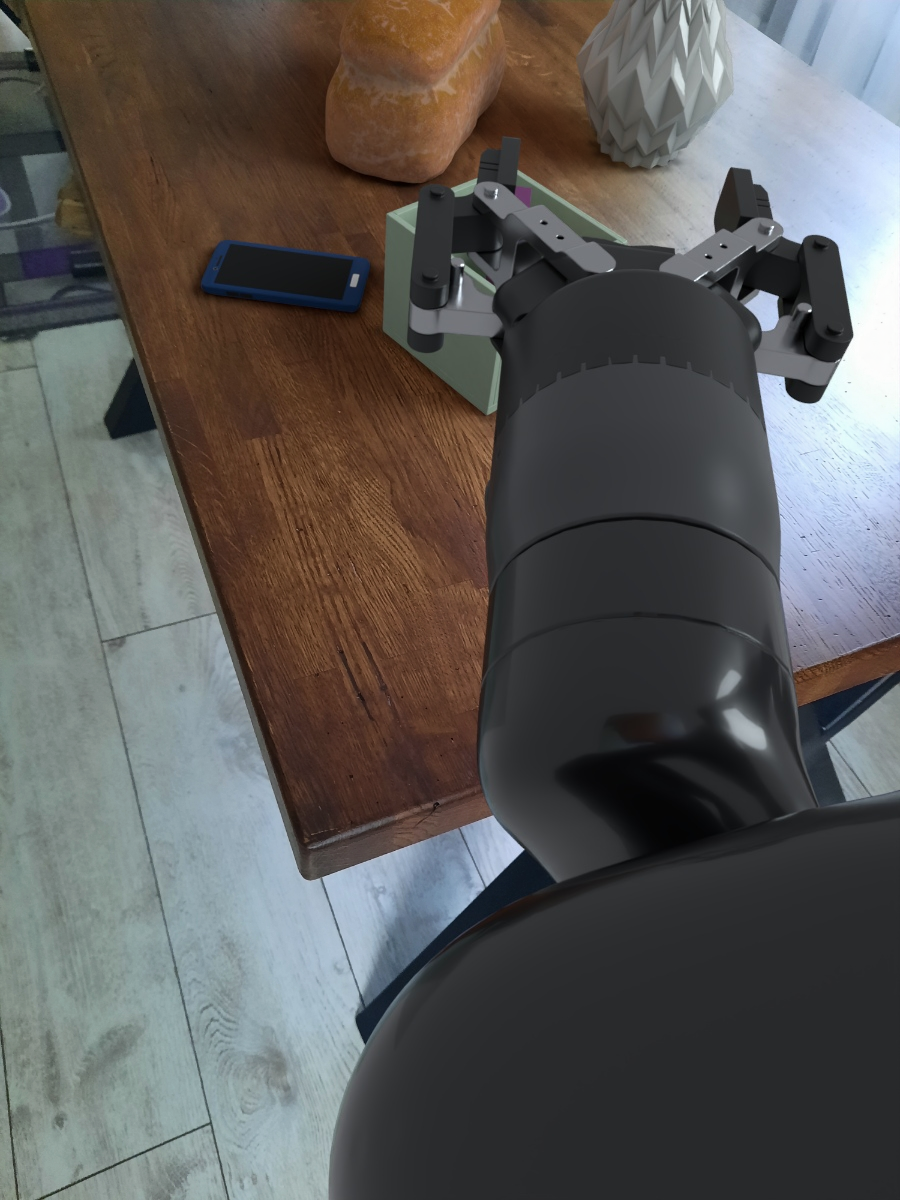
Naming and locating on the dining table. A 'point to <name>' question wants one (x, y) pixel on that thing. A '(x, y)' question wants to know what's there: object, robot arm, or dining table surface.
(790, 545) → the dining table surface
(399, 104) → the bread
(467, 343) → the open storage box
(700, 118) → the vase
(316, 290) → the cell phone
